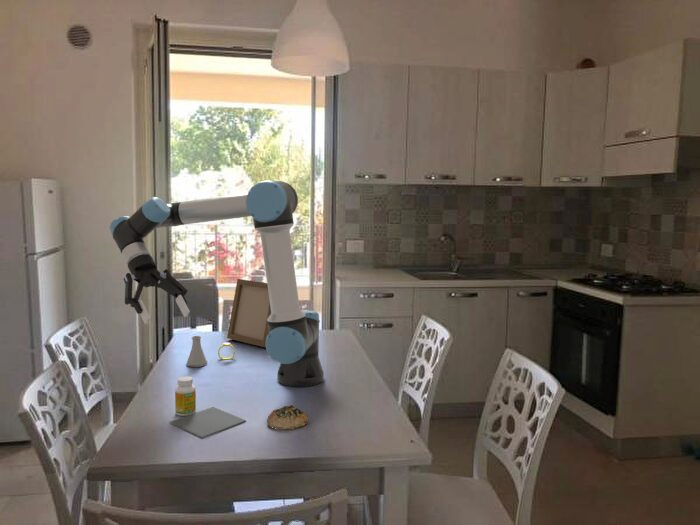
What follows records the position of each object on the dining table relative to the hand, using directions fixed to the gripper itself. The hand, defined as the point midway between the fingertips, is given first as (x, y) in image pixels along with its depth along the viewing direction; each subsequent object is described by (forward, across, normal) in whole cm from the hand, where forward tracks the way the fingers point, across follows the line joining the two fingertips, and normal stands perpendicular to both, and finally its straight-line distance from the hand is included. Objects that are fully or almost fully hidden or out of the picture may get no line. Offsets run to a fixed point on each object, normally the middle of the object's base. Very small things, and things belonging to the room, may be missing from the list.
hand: (168, 318), depth 164 cm
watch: (+4, -36, -30) cm, 47 cm away
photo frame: (-3, -60, -37) cm, 70 cm away
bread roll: (+45, -11, +11) cm, 47 cm away
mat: (+33, +4, 0) cm, 34 cm away
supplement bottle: (+27, +4, -7) cm, 28 cm away
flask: (+3, -25, -32) cm, 40 cm away
